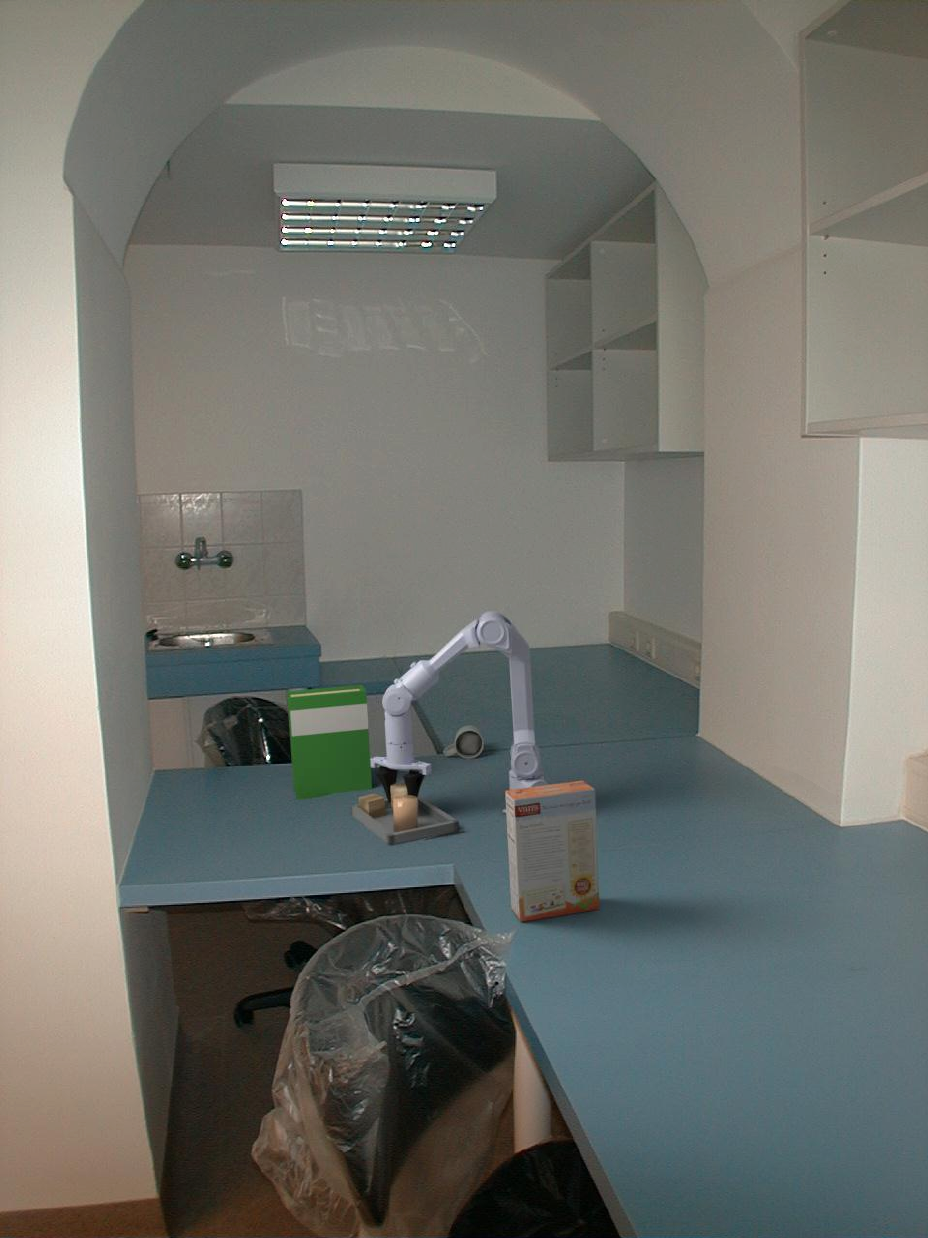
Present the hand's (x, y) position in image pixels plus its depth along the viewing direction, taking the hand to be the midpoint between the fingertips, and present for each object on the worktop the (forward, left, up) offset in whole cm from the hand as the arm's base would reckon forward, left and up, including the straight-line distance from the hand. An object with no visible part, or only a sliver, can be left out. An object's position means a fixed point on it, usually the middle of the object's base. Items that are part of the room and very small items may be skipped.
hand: (402, 803), depth 218 cm
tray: (-3, +2, -3) cm, 5 cm away
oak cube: (+4, +6, -3) cm, 7 cm away
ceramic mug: (+37, -33, -4) cm, 50 cm away
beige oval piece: (0, 0, -2) cm, 2 cm away
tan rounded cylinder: (-8, +3, -3) cm, 9 cm away
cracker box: (-56, -3, -4) cm, 57 cm away
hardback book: (+28, +7, -4) cm, 29 cm away
